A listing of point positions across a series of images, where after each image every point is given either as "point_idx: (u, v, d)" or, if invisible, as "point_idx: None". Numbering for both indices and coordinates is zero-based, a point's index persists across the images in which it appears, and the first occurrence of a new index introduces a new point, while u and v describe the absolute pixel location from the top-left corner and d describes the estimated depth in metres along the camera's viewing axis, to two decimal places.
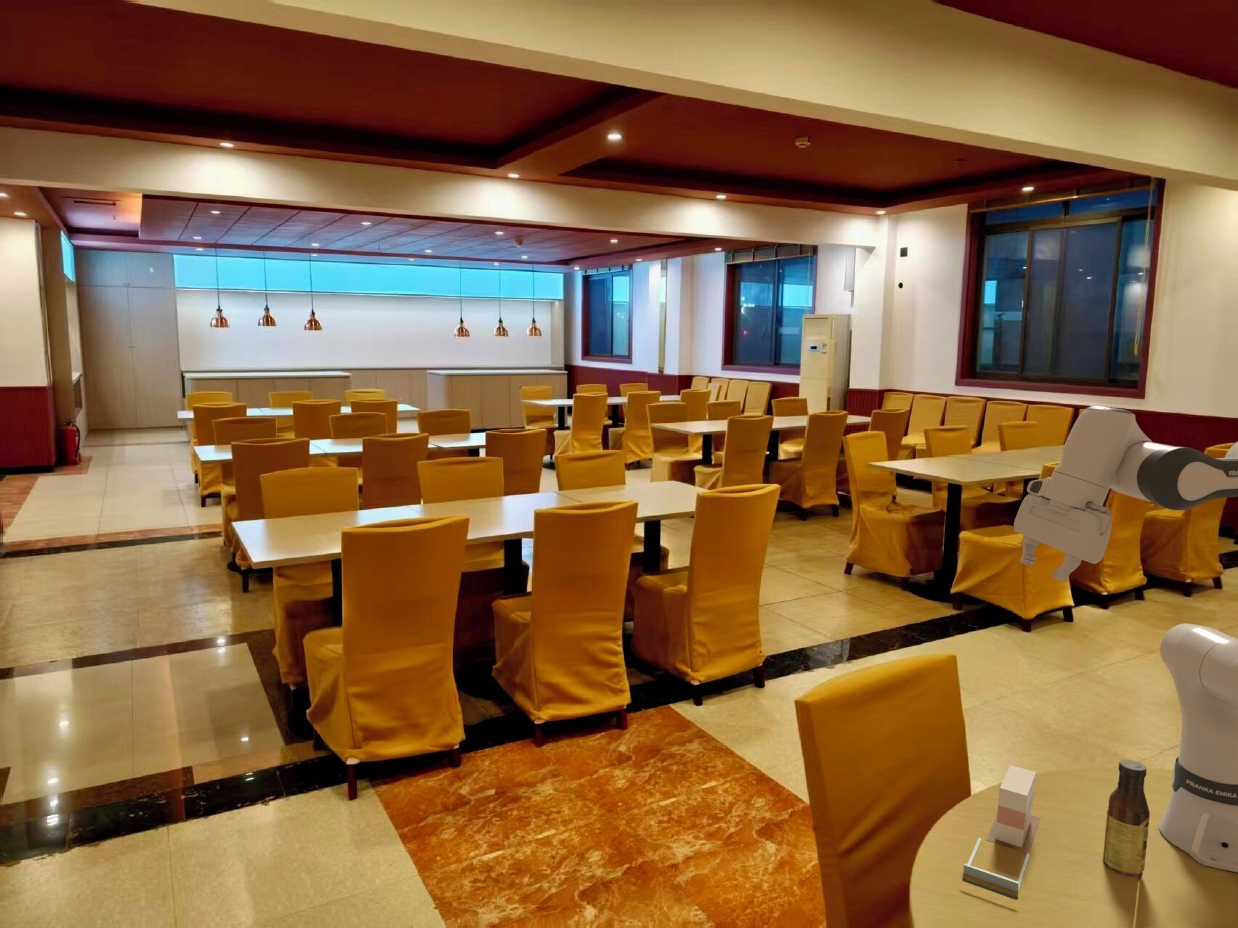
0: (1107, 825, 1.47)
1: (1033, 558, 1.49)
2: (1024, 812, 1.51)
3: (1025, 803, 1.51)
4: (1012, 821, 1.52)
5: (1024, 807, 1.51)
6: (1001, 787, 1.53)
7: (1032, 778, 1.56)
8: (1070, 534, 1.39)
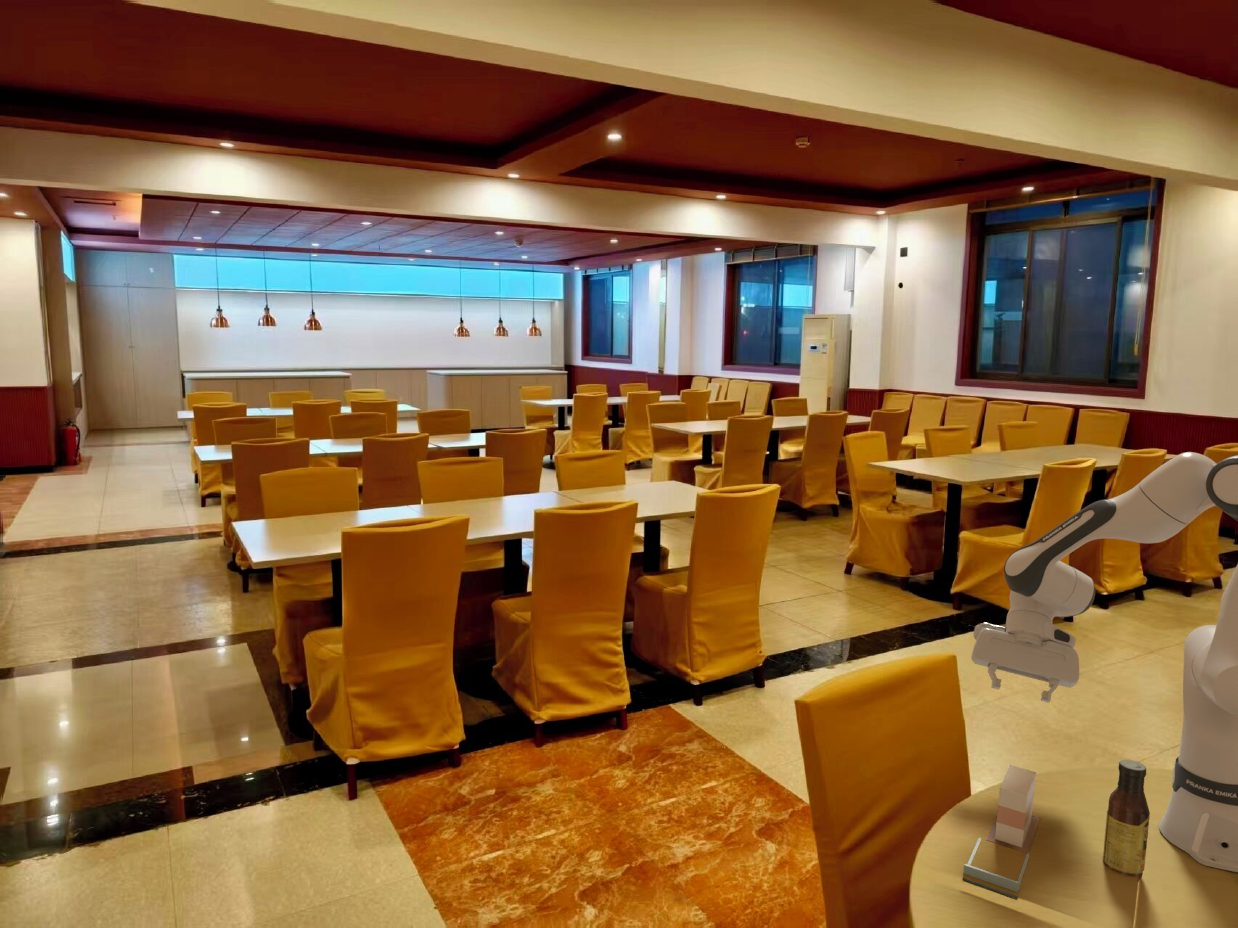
0: (1107, 825, 1.47)
1: (1042, 692, 1.73)
2: (1024, 812, 1.51)
3: (1025, 803, 1.51)
4: (1012, 821, 1.52)
5: (1024, 807, 1.51)
6: (1001, 787, 1.53)
7: (1032, 778, 1.56)
8: None
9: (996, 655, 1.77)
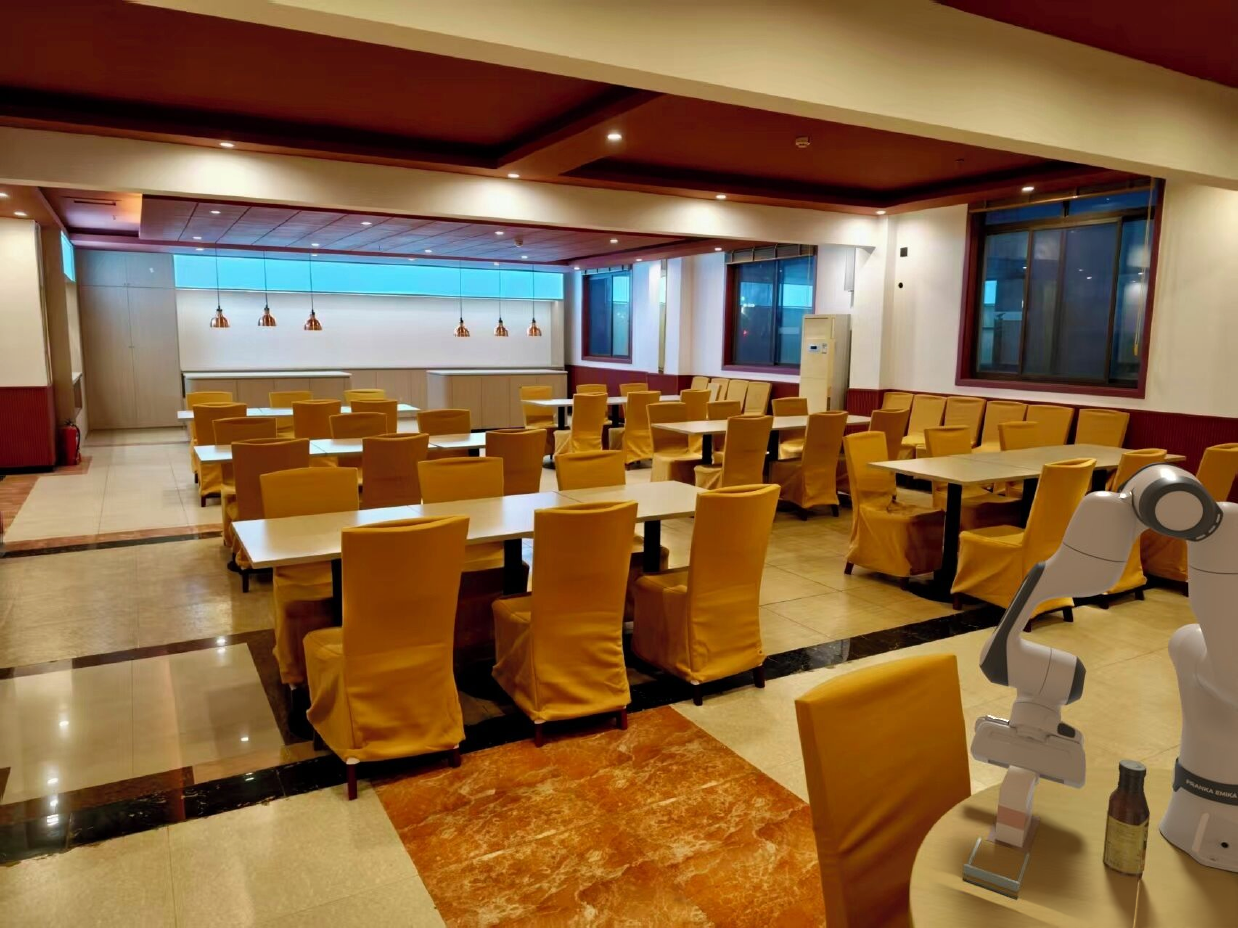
0: (1107, 825, 1.47)
1: None
2: (1024, 812, 1.51)
3: (1025, 803, 1.51)
4: (1012, 821, 1.52)
5: (1024, 807, 1.51)
6: (1001, 787, 1.53)
7: (1032, 778, 1.56)
8: None
9: (995, 750, 1.66)
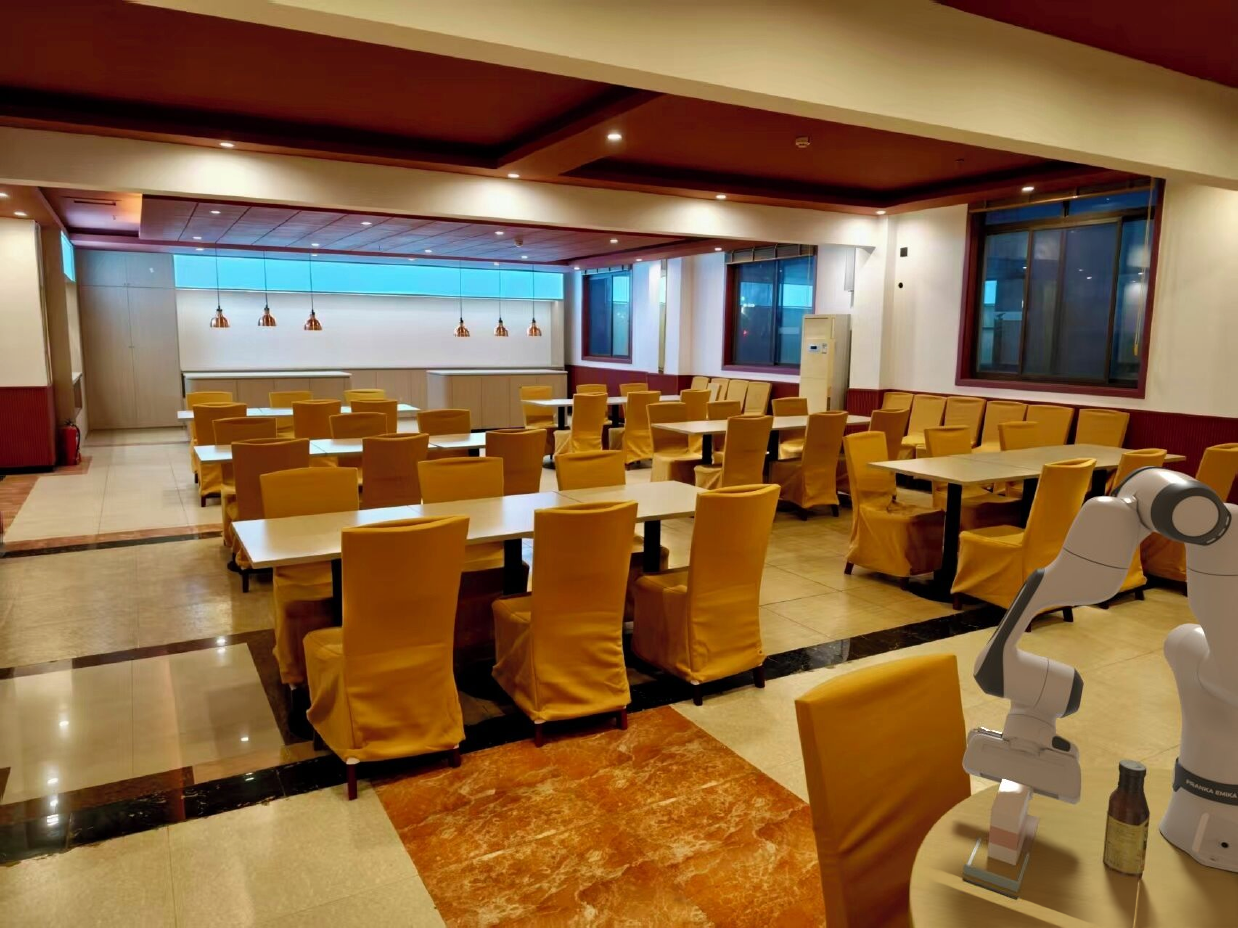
0: (1107, 825, 1.47)
1: None
2: (1017, 833, 1.46)
3: (1017, 824, 1.45)
4: (1005, 842, 1.47)
5: (1017, 828, 1.45)
6: (993, 808, 1.47)
7: (1025, 795, 1.50)
8: None
9: (987, 764, 1.61)
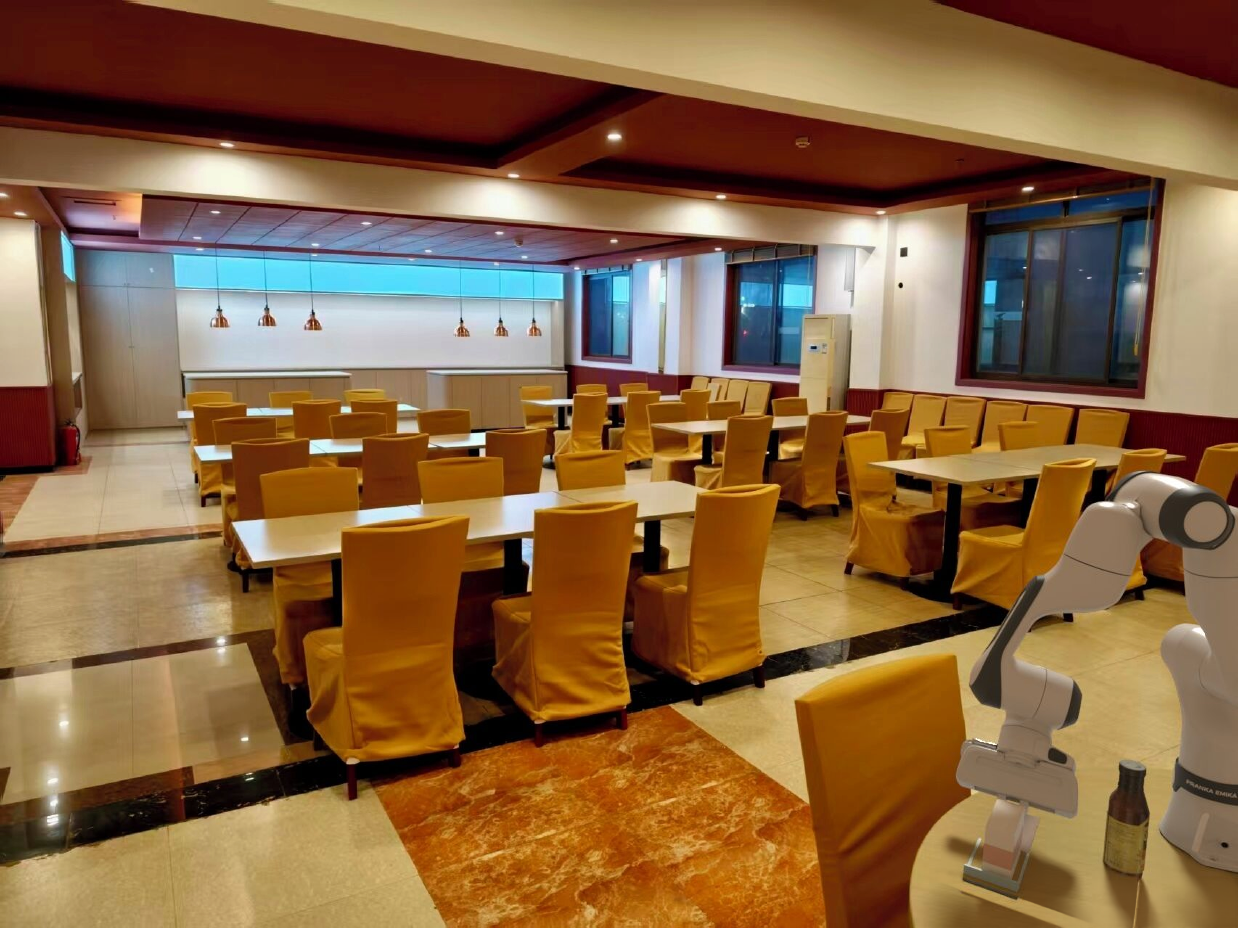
0: (1107, 825, 1.47)
1: None
2: (1012, 851, 1.41)
3: (1013, 842, 1.41)
4: (999, 861, 1.43)
5: (1012, 846, 1.41)
6: (987, 824, 1.43)
7: (1021, 814, 1.47)
8: None
9: (981, 776, 1.56)
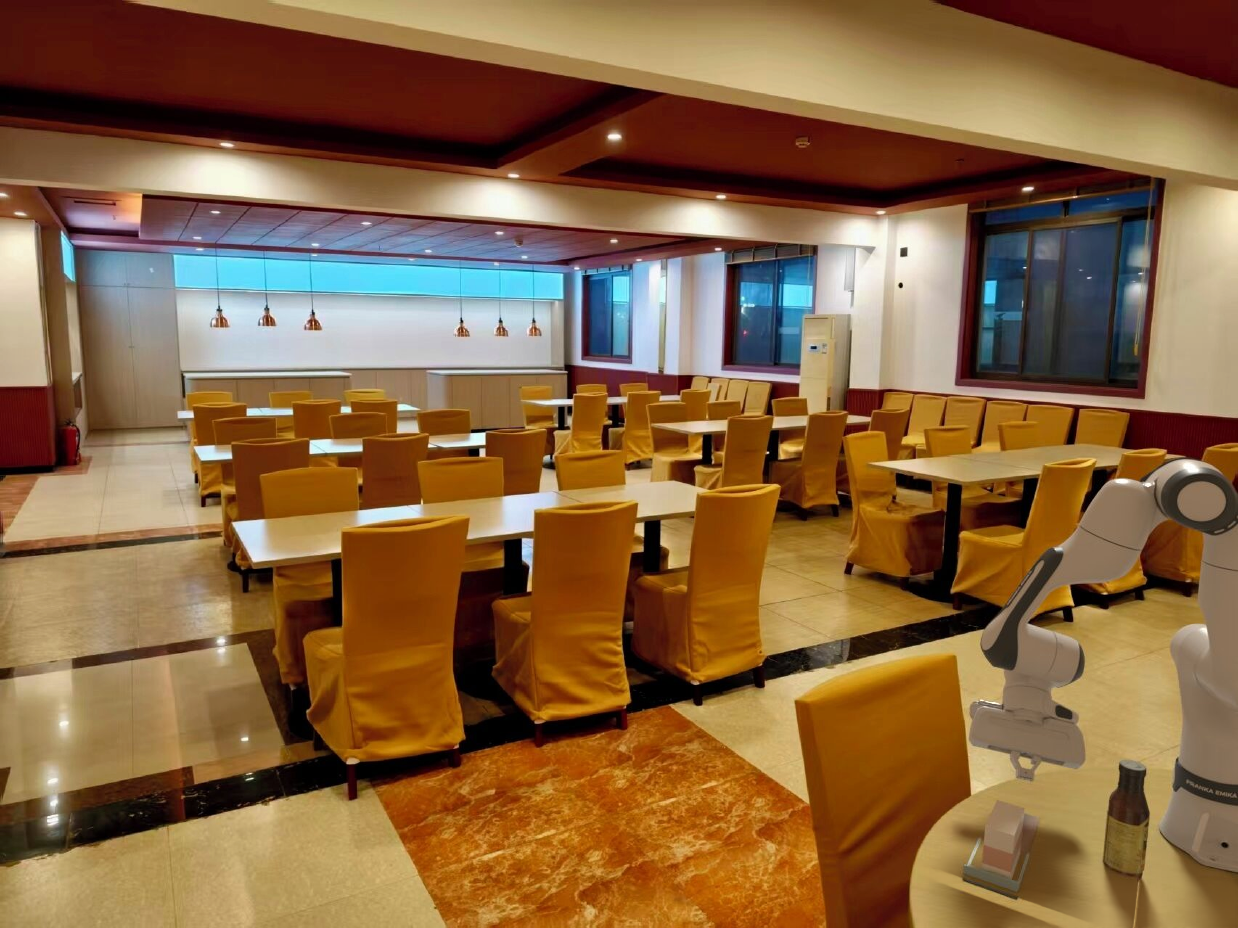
0: (1107, 825, 1.47)
1: None
2: (1011, 853, 1.41)
3: (1012, 843, 1.41)
4: (998, 862, 1.42)
5: (1011, 848, 1.41)
6: (987, 826, 1.43)
7: (1020, 815, 1.46)
8: None
9: (996, 735, 1.64)
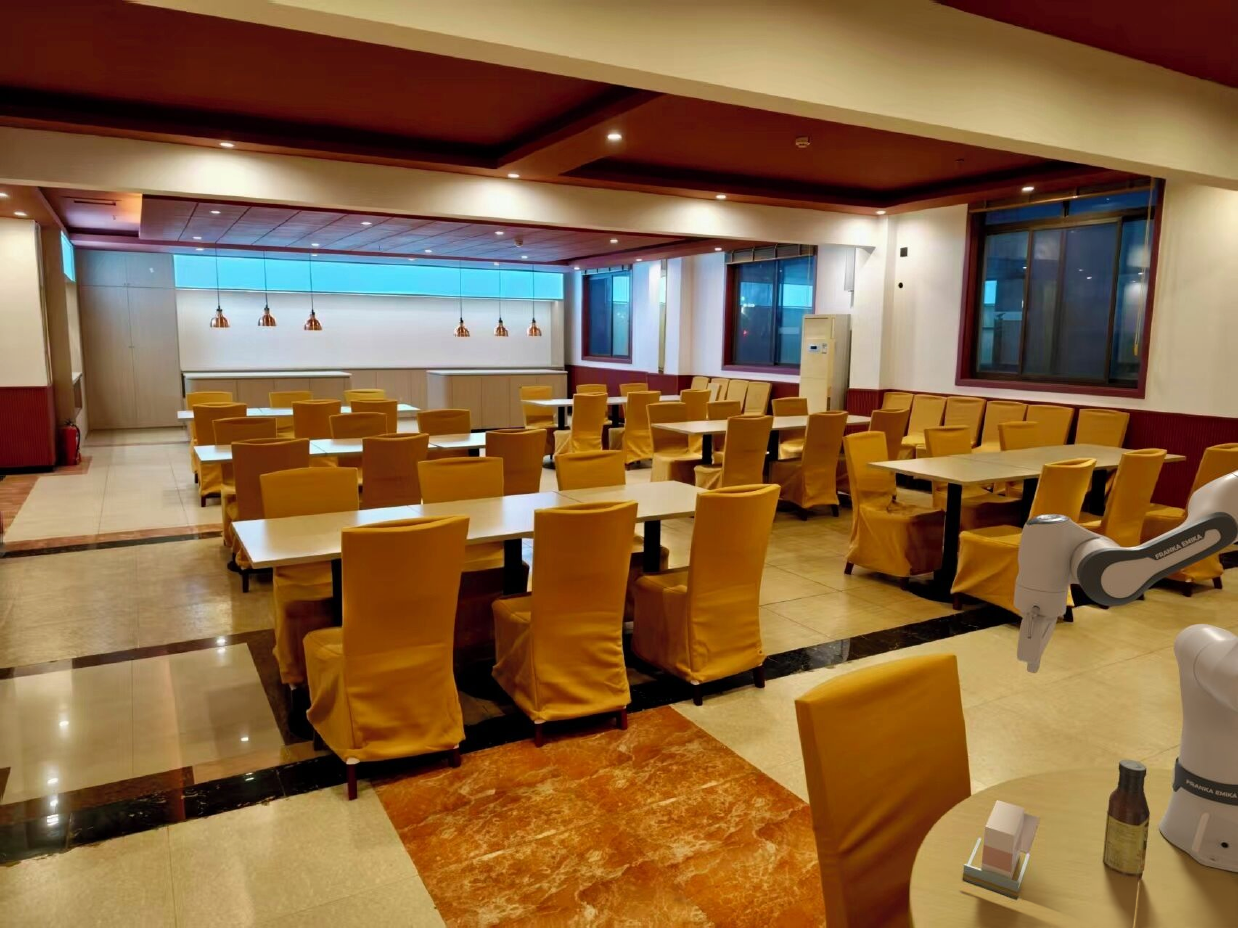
0: (1107, 825, 1.47)
1: None
2: (1011, 853, 1.41)
3: (1012, 843, 1.41)
4: (998, 862, 1.42)
5: (1011, 848, 1.41)
6: (987, 826, 1.43)
7: (1020, 815, 1.46)
8: None
9: (1042, 649, 1.55)
